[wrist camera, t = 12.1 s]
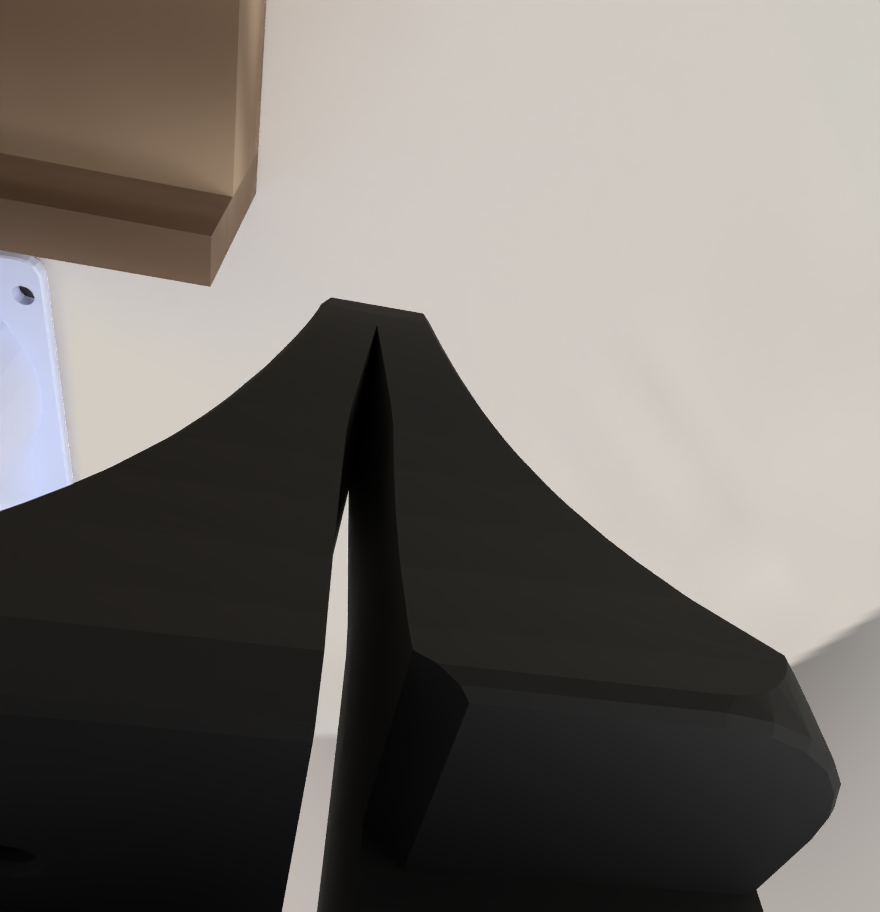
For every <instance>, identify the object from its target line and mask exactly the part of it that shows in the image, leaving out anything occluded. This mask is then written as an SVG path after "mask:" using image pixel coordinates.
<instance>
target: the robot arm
mask: <svg viewBox="0 0 880 912" xmlns="http://www.w3.org/2000/svg"><path fill="white" fill-rule="evenodd" d="M19 286H24V287H26V288H28V289H29V290H30V291H31V292H32V293H33V295H34V297H35V298H30V297H28V296H25V295H24V294H23V293H22V292H21V291H20V289H19ZM348 490H349V520H348V631H347V650H346V662H345V671H344V681H343V690H342V699H341V708H340V717H339V726H338V735H337V744H336V753H335V762H334V771H333V780H332V789H331V798H330V806H329V815H328V823H327V833H326V840H325V850H324V858H323V866H322V875H321V883H320V892H319V900H318V908H317V912H763V909H762V906H761V903H760V900H759V897H758V894H757V890H756V889H757V888H759V887H760V886H761V885H762V884H763V883H764V882H765V881H766V880H767V879H768V878H770V876H772V875H773V874H774V873H775V872H776V871H777V870H778V869H779V868H780V867H782V865H784V864H785V863H786V862H787V861H788V860H789V859H790V858H791V857H792V856H794V855H795V854H796V853H797V852H798V851H799V850H800V849H801V848H802V847H803V846H804V845H805V844H807V843H808V842H809V841H810V840H811V839H812V838H813V836H814V835H815V834H816V833H817V832H818V830H819V829H820V828H821V827H822V825H823V824H824V823H825V822H826V820H827V819H828V818H829V816H830V814H831V813H832V811H833V809H834V807H835V803H836V799H837V795H838V792H839V789H840V785H841V783H840V780H839V776H838V773H837V769H836V766H835V763H834V760H833V757H832V755H831V753H830V751H829V749H828V746H827V744H826V742H825V740H824V737H823V735H822V733H821V731H820V729H819V726H818V724H817V722H816V720H815V717H814V715H813V713H812V711H811V709H810V706H809V704H808V702H807V700H806V698H805V696H804V694H803V692H802V689H801V687H800V685H799V683H798V681H797V679H796V677H795V675H794V673H793V671H792V669H791V667H790V665H789V664H788V662H787V660H786V658H785V656H784V655H782V654H781V653H779V652H777V651H776V650H774V649H772V648H771V647H769V646H767V645H766V644H764V643H762V642H761V641H759V640H757V639H756V638H754V637H752V636H751V635H749V634H747V633H746V632H744V631H742V630H741V629H739V628H737V627H736V626H734V625H732V624H731V623H729V622H728V621H726V620H724V619H723V618H721V617H719V616H718V615H716V614H714V613H713V612H711V611H709V610H708V609H706V608H704V607H703V606H701V605H699V604H698V603H696V602H694V601H693V600H691V599H690V598H688V597H687V596H685V595H684V594H682V593H681V592H679V591H678V590H676V589H675V588H673V587H672V586H671V585H669V584H668V583H666V582H665V581H664V580H662V579H661V578H659V577H658V576H656V575H655V574H654V573H652V572H651V571H649V570H648V569H647V568H645V567H644V566H642V565H641V564H639V563H638V562H637V561H635V560H634V559H633V558H631V557H630V556H629V555H627V554H626V553H625V552H624V551H622V550H621V549H620V548H618V547H617V546H616V545H614V544H613V543H612V542H611V541H609V540H608V539H607V538H605V537H604V536H603V535H602V534H601V533H600V532H598V531H597V530H596V529H595V528H594V527H593V526H591V525H590V524H589V523H588V522H587V521H586V520H584V519H583V518H582V517H581V516H580V515H579V514H577V513H576V512H575V511H574V510H573V509H572V508H570V507H569V506H568V505H567V504H566V503H565V502H564V501H563V500H562V499H561V498H559V497H558V496H557V495H556V494H555V493H554V492H553V491H552V490H551V489H550V488H549V487H548V486H547V485H546V484H545V483H544V482H543V481H542V480H541V479H540V478H539V477H538V476H537V475H536V474H535V473H534V472H533V470H532V469H531V468H530V467H529V466H528V465H527V464H526V463H525V462H524V461H523V460H522V459H521V458H520V457H519V456H518V455H517V454H516V452H515V451H514V450H513V449H512V448H511V447H510V446H509V444H508V443H507V442H506V441H505V440H504V438H503V437H502V436H501V435H500V433H499V432H498V431H497V430H496V428H495V427H494V426H493V424H492V423H491V422H490V421H489V419H488V418H487V417H486V415H485V414H484V413H483V411H482V410H481V408H480V407H479V406H478V404H477V403H476V401H475V400H474V398H473V397H472V395H471V394H470V392H469V391H468V389H467V387H466V386H465V384H464V383H463V381H462V380H461V378H460V377H459V375H458V373H457V372H456V370H455V369H454V367H453V365H452V363H451V362H450V360H449V358H448V357H447V355H446V353H445V351H444V350H443V348H442V346H441V344H440V342H439V340H438V339H437V337H436V335H435V333H434V331H433V329H432V327H431V325H430V323H429V322H428V320H427V319H426V317H425V316H424V314H422V313H417V312H411V311H405V310H400V309H394V308H388V307H382V306H377V305H371V304H365V303H360V302H354V301H348V300H342V299H337V298H330V299H328V300H327V301H325V302H324V303H322V304H321V306H320V307H319V309H318V311H317V312H316V313H315V315H314V316H313V317H312V318H311V320H310V321H309V322H308V323H307V324H306V326H305V327H304V328H303V329H302V330H301V331H300V332H299V333H298V335H297V336H296V337H295V338H294V339H293V340H292V341H291V342H290V343H289V344H288V345H287V346H286V347H285V348H284V349H283V350H282V351H281V352H280V353H279V354H278V355H277V356H276V357H275V358H274V359H273V360H272V361H271V362H270V363H269V364H268V365H267V366H265V367H264V368H263V369H262V370H261V371H260V372H259V373H257V374H256V375H255V376H254V377H253V378H251V379H250V380H249V381H248V382H247V383H245V384H244V385H243V386H242V387H241V388H239V389H238V390H237V391H236V392H234V393H233V394H232V395H231V396H230V397H228V398H227V399H226V400H224V401H223V402H222V403H220V404H219V405H217V406H216V407H215V408H213V409H212V410H211V411H209V412H208V413H206V414H205V415H203V416H202V417H200V418H199V419H197V420H196V421H194V422H193V423H191V424H190V425H188V426H186V427H185V428H183V429H182V430H180V431H179V432H177V433H175V434H174V435H172V436H170V437H169V438H167V439H165V440H163V441H161V442H159V443H157V444H155V445H153V446H151V447H149V448H148V449H146V450H144V451H142V452H140V453H138V454H136V455H134V456H132V457H130V458H128V459H126V460H124V461H122V462H120V463H118V464H116V465H114V466H112V467H110V468H108V469H106V470H104V471H101V472H99V473H97V474H94V475H92V476H90V477H87V478H85V479H83V480H80V481H78V482H76V483H74V482H73V474H72V466H71V458H70V450H69V443H68V435H67V427H66V419H65V411H64V403H63V395H62V387H61V380H60V372H59V364H58V356H57V348H56V340H55V332H54V324H53V317H52V309H51V301H50V293H49V285H48V277H47V273H46V270H45V267H44V266H43V265H42V264H41V262H40V261H39V260H37V259H36V258H35V257H33V256H31V255H25V254H19V253H13V252H7V251H2V250H0V912H282V907H283V902H284V896H285V890H286V885H287V880H288V874H289V869H290V863H291V858H292V852H293V847H294V841H295V836H296V830H297V825H298V820H299V814H300V809H301V803H302V797H303V792H304V787H305V781H306V776H307V770H308V765H309V759H310V754H311V748H312V743H313V737H314V730H315V723H316V714H317V706H318V698H319V690H320V682H321V673H322V665H323V657H324V648H325V636H326V624H327V612H328V602H329V591H330V580H331V570H332V559H333V553H334V549H335V544H336V540H337V536H338V532H339V528H340V524H341V520H342V515H343V511H344V507H345V503H346V499H347V495H348Z"/></svg>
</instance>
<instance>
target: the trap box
mask: <svg viewBox="0 0 880 912" xmlns="http://www.w3.org/2000/svg"><path fill="white" fill-rule="evenodd" d="M265 12H266V0H0V250H2V251H7V252H13V253H19V254H25V255H31V256H36V257H42V258H48V259H54V260H59V261H65V262H71V263H77V264H83V265H88V266H94V267H100V268H106V269H111V270H117V271H123V272H129V273H135V274H140V275H146V276H152V277H158V278H163V279H169V280H175V281H181V282H187V283H192V284H198V285H204V286H211V284H212V282H213V280H214V278H215V276H216V274H217V272H218V270H219V268H220V266H221V264H222V262H223V260H224V258H225V255H226V253H227V251H228V249H229V247H230V245H231V243H232V241H233V239H234V237H235V235H236V233H237V231H238V229H239V227H240V225H241V223H242V221H243V219H244V217H245V215H246V213H247V210H248V208H249V206H250V204H251V202H252V200H253V198H254V196H255V194H256V181H257V162H258V143H259V125H260V106H261V87H262V68H263V50H264V31H265Z"/></svg>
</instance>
